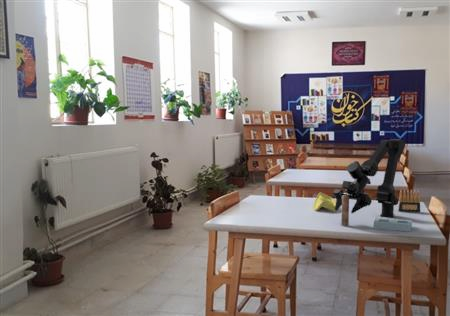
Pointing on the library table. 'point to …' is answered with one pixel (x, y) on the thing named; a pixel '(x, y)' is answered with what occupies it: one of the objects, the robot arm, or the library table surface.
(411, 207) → the ammunition clip
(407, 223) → the peg board
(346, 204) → the walnut peg
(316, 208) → the plastic component
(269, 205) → the library table surface
